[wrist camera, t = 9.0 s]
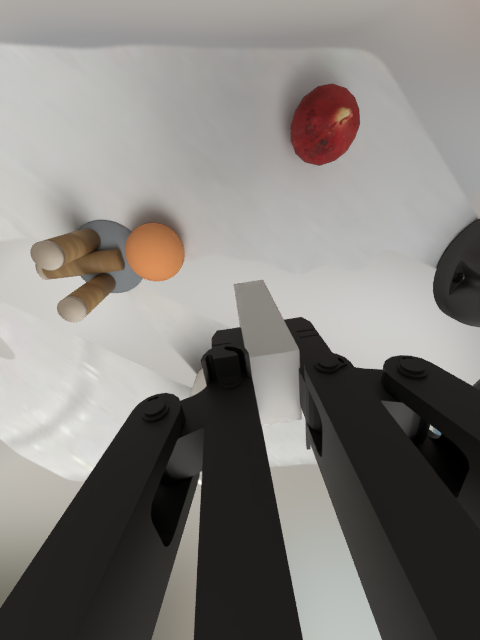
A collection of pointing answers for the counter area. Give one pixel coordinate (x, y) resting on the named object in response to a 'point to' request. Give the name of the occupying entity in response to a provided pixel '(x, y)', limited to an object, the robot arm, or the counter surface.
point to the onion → (325, 124)
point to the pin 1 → (64, 248)
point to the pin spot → (114, 239)
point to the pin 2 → (86, 297)
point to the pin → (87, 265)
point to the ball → (154, 252)
